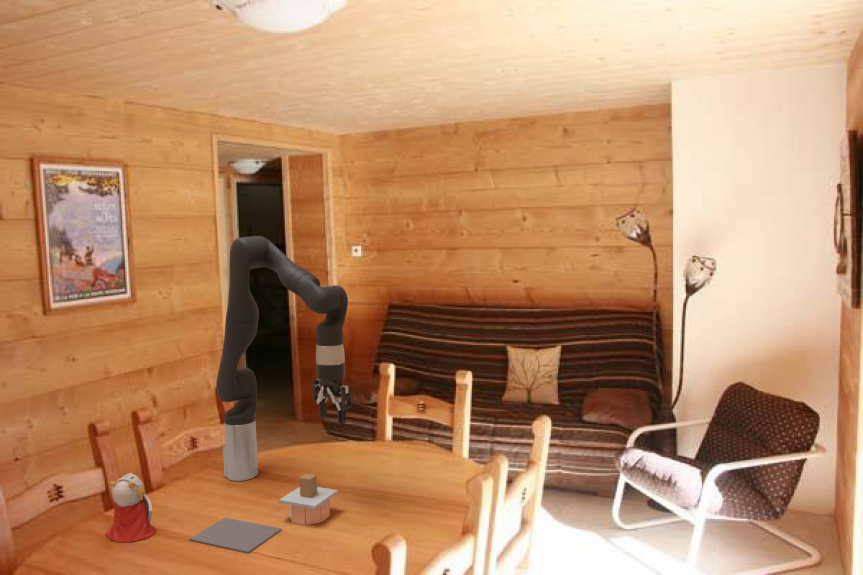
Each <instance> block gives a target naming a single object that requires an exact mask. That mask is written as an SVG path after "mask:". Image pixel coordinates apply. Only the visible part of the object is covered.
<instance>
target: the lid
mask: <svg viewBox="0 0 863 575" xmlns="http://www.w3.org/2000/svg"><path fill="white" fill-rule="evenodd" d="M337 494H339V491H338V489H332V488H328V487H327V488H325V487H320V486H318V476H317V475H316V474H310V473H305V474H304V475H301V476H299V487H297V488H296V489H294V490H292V491H290V493H288V494H286V495H284V496H282V497H281V498H279V499H278V504H284V505H287V506H289V505H294V506H300V507H305V508H311V509H316V508H318V507H319V506H320V505H322V504H323V503H325V502H326V501H327V500H329V501H330V499H332V498H333V497H335V496H336V495H337Z"/></svg>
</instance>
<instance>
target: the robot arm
mask: <svg viewBox="0 0 863 575" xmlns="http://www.w3.org/2000/svg"><path fill="white" fill-rule="evenodd" d="M229 250H230V251H229V280H228V281H229V284H228V285H229V286H228V287H229V288H228V296H227V297H228V299H227V309H226V315H225V324H224V337H223V346H222V350H221V351H222V352H221V358H220V362H219V366H218V372H217V376H216V385H215V386H216V392H217V396H218V398H219V400H220V401H221V402H223V403H231V402H235V401H237V402H236V403H235V404H234V405H233V406H232V407H231V408H230V409H229V410H227V411H225V413H224V415H223V421H224V422H223V424H224V442H225V443H224V444H225V445H223V447H222V455H223V457H222V458H223V460H222V461H223V476H224V478H227V480H229V481H236V482H240V481H241V482H242V481H247V480H251V479H254V478H255V476H256V477H257V476H258V474H259V470H258V469H259V468H258V446H257V445H258V444H257V427H256V425H257V423H256V414H257V407H258V406H257V404H258V402H257V400H258V399H257V397H258V388H257V387H258V384H257V378H256V375H255V372H254V371H253V370H252V369H251V368H249V367H242V368H238V367H239V363H240V360H241V358H242V357H243V355H244V354H245V352H246V350H247V349H248V348H249V346H250V345H251V343H252V342H253V340H255V337H256V334H257V333H258V324H259V319H260V311H259V307H258V304H257V302H256V301H255V298H254V297H253V295H252V292H251V288H250V285H249V284H250V274H251V273H250V272H251V270H252V269H253V270H254V269H259V268H267V269H269V270H272V271H274V272H275V273H276V274H277V276H278V279H279V281H280V283H281V284H282V286H284V288H286V289H287V290H289V291H290V292H292V293H293V294H294V295H296V296H297V297H299V298H300V299H301V300H302V302H303V303H304V304H305V305H306V306H307V307H308V309H310V310H311V311H312V312H314V313H316V314H320V315H324V314H325V318H324V319H323V321H321V322H319V323H318V324H316V329H315V334H316V335H315V336H316V337H315V338H316V350H315V362H316V364H315V366H316V369H315V370H316V378H315V379H312V400H313V401H316V403H317V406H318V407H317V409H318V413H317V414H318V417H319V418H321V419H322V418H326V417H327V416H328V410H327V409H328V407H327V404H328V403H327V401H328V399H330V400H331V401H332V403H333V404H335V406H336V408H337V410H336V411H337V424H339V425H343V424H345V423H346V422H347V410H348V409H351V408H352V406H353V402H352V391H351V390H352V388H351V386H350V385H344V384H343V379H344V378H345V377H346V362H345V361H346V359H345V349H344V333H343V332H344V330H343V329H344V325H345V322H346V316H347V311H348V307H349V306H348V305H349V304H348V303H349V298H348V294H347V292H346V290H345V289H344V287H342V286H340V285H337V284H336V285H329V286H321V281H320V279H319V278H318V277H317V276H316V275H314V274H313V273H311V272H309V271H308V270H306V269H305V268H303V267H301V266H300V265H298V264H297V263H295V262H294V261H293V260H291V258H289V257H288V256H287V255H286V254H284V252H282V250H280V249H279V247H277V246H276V245H275V244H274V243H273V242H272V241H270V240H269V239H268V238H267V237H264V236H260V235H254V236H243V237H236V238H235V239H234V240H233V241H232V243H231V245H230V249H229ZM317 393H318V394H317Z"/></svg>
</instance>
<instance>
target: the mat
mask: <svg viewBox="0 0 863 575" xmlns="http://www.w3.org/2000/svg"><path fill="white" fill-rule="evenodd" d="M282 530H283V529H282V528H280V527H275V526H271V525H266V524H260V523H257V522H256V523H255V522H251V521H244V520H241V519H235V518H230V517H223V518H221V519H220V520H218V521H217V522H215V523H213V524H212V525H210V526H208V527H207V528H205V529H204V530H201V531H200V532H199V533H198V532H197V533H196V534H195V535H193V536H191V537H190V538H189V539H188V541H191V542H195V543H200V544H204V545H209V546H212V547H213V546H214V547H217V548H223V549H227V550H231V551H236V552H240V553H244V554H250V553H251V552H253V551H254V550H255V549H257V548H259V547H260V546H261V545H262V544H265V543H266V542H267V541H269V540H270V539H271V538H273V537H274V536H276V535H277V534H278V533H280V532H281V531H282Z"/></svg>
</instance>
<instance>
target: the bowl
mask: <svg viewBox="0 0 863 575" xmlns="http://www.w3.org/2000/svg"><path fill="white" fill-rule="evenodd" d="M330 503H331V502H330V499H329V500H327V501H326V502H325V503H323V504H322V505H320V506H319V507H318V508H316V509H311V508H305V507H300V506H294V505H288V512H289V517H288V518H290V521H291V523H292V524H297V525H302V526H309V525H315V524H320V523H322V522H324V521H325V520H327V519H328V518H329V517H330V516H331V506H330Z"/></svg>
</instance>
